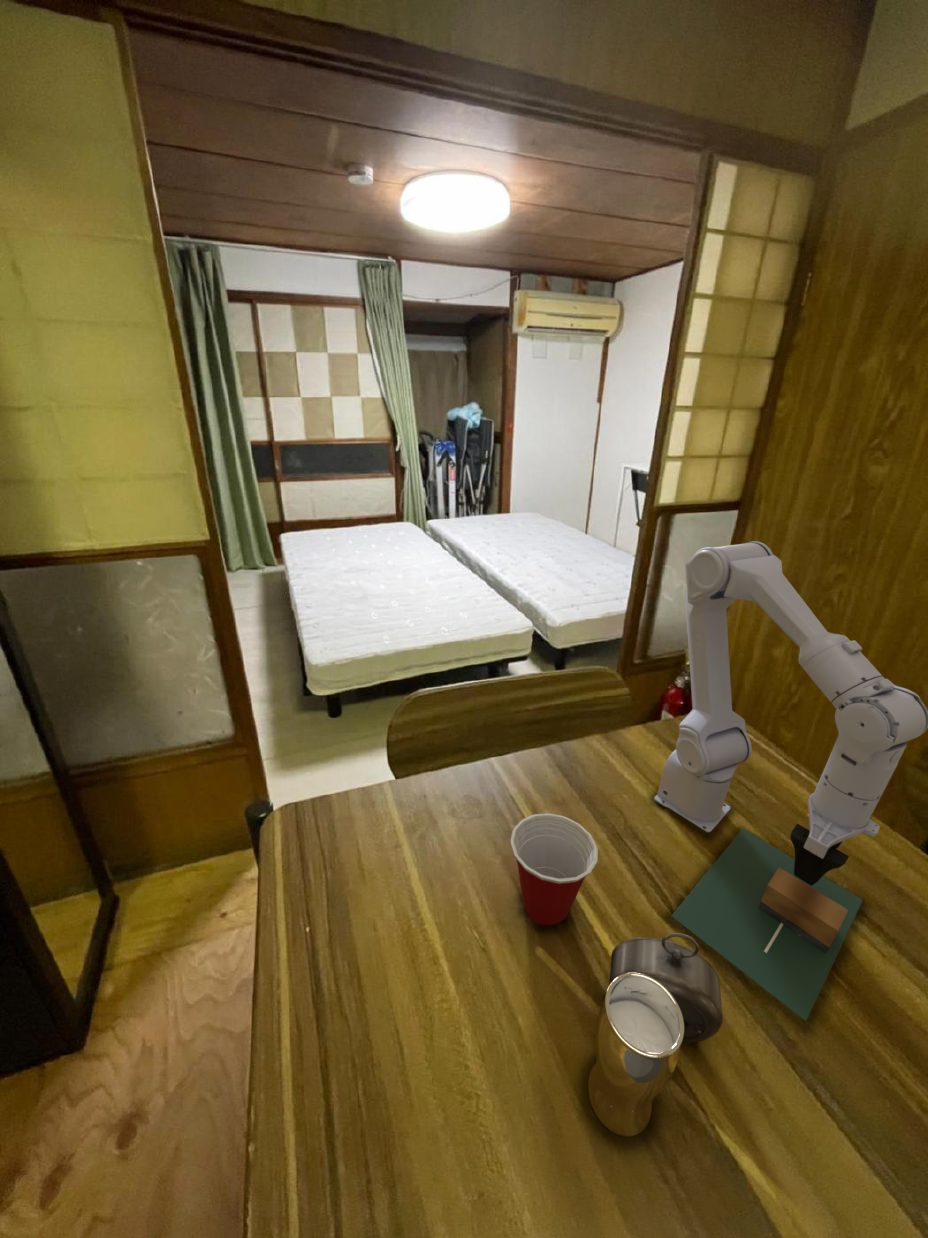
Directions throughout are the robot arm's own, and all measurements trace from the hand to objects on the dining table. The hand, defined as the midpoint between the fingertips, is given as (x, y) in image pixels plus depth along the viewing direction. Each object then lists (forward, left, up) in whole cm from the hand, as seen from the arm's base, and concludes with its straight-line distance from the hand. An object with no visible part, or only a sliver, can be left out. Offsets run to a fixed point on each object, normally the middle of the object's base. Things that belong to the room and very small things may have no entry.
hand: (814, 861), depth 66 cm
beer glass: (-4, -36, -9) cm, 37 cm away
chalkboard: (-2, -4, -9) cm, 10 cm away
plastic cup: (-22, -26, -9) cm, 35 cm away
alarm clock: (-5, -28, -9) cm, 30 cm away
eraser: (+1, -3, -8) cm, 8 cm away
